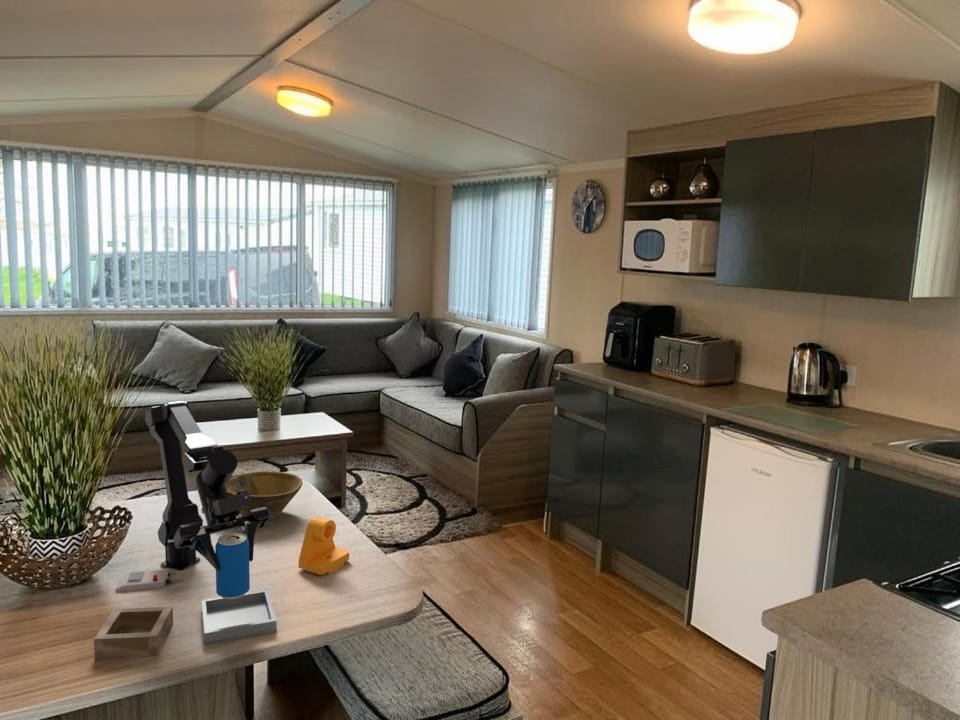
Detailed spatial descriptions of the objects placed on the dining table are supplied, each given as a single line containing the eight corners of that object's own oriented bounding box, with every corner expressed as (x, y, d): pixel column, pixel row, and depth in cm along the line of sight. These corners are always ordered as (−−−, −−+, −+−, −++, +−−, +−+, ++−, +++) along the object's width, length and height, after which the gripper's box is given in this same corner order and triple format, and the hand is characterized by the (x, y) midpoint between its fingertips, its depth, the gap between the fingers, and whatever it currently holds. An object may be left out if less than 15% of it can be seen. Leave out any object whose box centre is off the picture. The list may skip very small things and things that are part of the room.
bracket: (321, 578, 164) (321, 530, 162) (298, 570, 167) (298, 523, 165) (350, 561, 173) (351, 516, 171) (328, 554, 176) (328, 509, 174)
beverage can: (254, 586, 146) (253, 532, 144) (243, 601, 139) (242, 546, 137) (223, 584, 146) (222, 531, 144) (211, 600, 139) (210, 544, 137)
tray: (204, 645, 135) (204, 633, 135) (201, 611, 147) (201, 600, 147) (276, 631, 141) (276, 620, 140) (267, 600, 153) (267, 589, 152)
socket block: (116, 627, 140) (115, 608, 139) (173, 624, 142) (172, 606, 141) (94, 658, 129) (93, 639, 129) (157, 655, 131) (156, 636, 130)
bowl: (278, 495, 215) (278, 465, 213) (315, 518, 199) (315, 485, 197) (208, 511, 200) (207, 478, 199) (242, 538, 184) (241, 502, 182)
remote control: (112, 580, 160) (111, 568, 159) (185, 573, 164) (185, 561, 164) (106, 594, 153) (105, 581, 153) (182, 586, 158) (182, 574, 158)
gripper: (176, 487, 135) (197, 561, 129) (267, 470, 147) (290, 537, 141) (165, 512, 143) (184, 583, 136) (253, 494, 155) (274, 559, 148)
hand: (235, 565), depth 140 cm, fingers closed on beverage can, 6 cm apart
